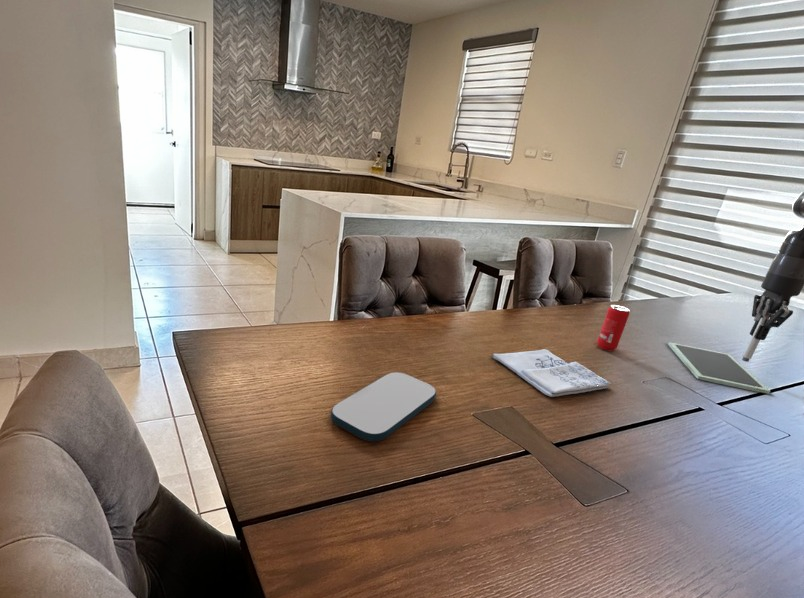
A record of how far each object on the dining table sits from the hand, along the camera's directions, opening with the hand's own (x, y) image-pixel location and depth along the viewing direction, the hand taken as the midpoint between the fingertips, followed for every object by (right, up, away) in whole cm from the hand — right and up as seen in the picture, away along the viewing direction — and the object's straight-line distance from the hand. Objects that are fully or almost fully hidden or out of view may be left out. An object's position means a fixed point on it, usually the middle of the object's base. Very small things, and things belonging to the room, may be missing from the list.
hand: (756, 337), depth 122 cm
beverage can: (-34, -3, +10) cm, 35 cm away
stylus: (-1, -6, +3) cm, 7 cm away
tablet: (-6, -8, +6) cm, 12 cm away
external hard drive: (-99, -13, -32) cm, 105 cm away
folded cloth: (-58, -9, -9) cm, 59 cm away
